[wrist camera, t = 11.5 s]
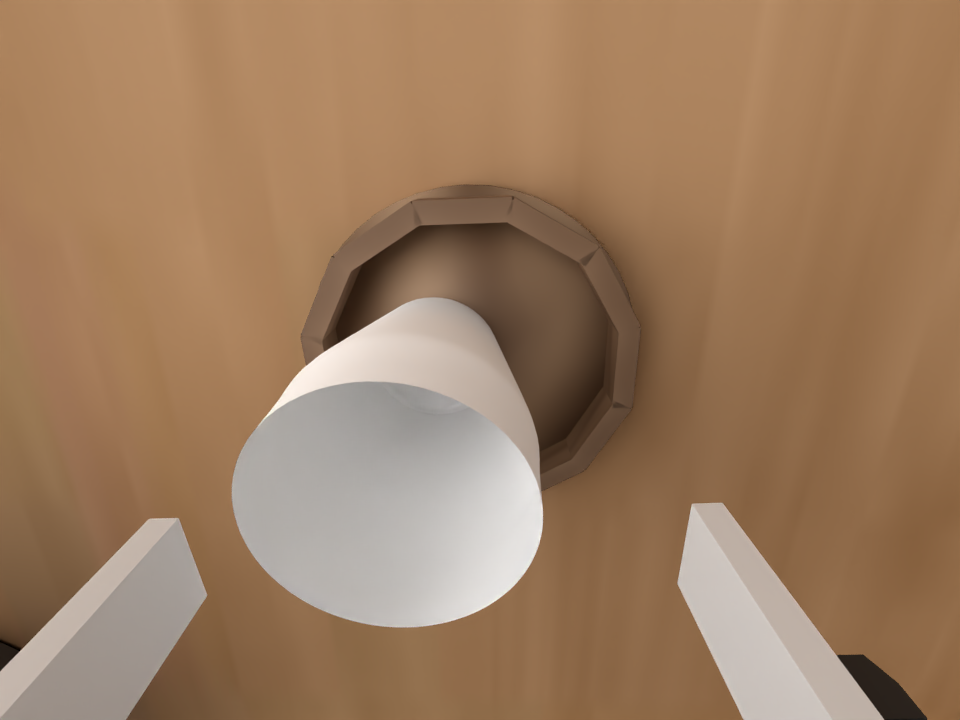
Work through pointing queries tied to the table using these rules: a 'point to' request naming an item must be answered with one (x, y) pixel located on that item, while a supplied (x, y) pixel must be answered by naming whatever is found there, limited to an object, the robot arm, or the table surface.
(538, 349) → the round tray
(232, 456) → the table surface
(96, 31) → the table surface
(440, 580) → the cup
